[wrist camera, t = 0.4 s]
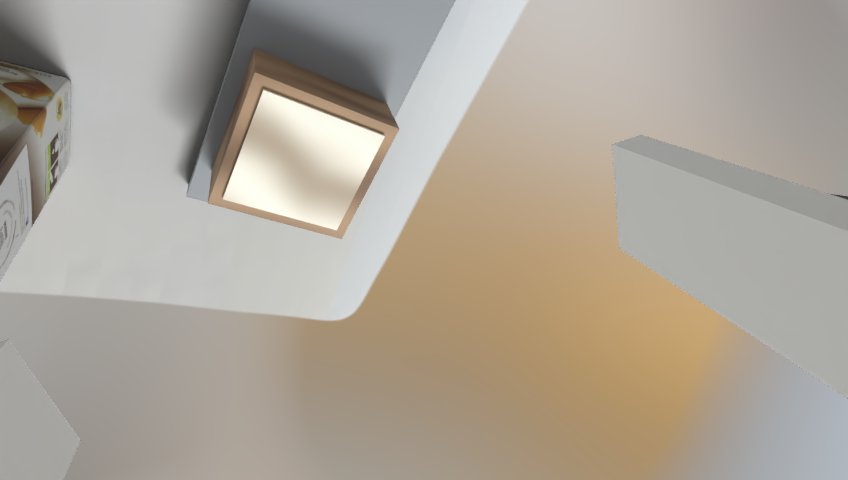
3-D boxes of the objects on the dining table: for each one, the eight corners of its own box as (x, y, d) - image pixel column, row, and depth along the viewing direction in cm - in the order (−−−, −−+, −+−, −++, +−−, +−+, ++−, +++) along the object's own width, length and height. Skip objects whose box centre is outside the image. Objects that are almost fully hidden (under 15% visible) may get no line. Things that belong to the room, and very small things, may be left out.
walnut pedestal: (254, 48, 32) (254, 73, 28) (386, 102, 36) (399, 130, 33) (211, 170, 36) (207, 205, 32) (334, 207, 40) (342, 240, 37)
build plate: (300, -154, 28) (302, -153, 26) (470, -49, 33) (478, -44, 32) (188, 185, 37) (186, 196, 36) (332, 224, 43) (334, 235, 42)
